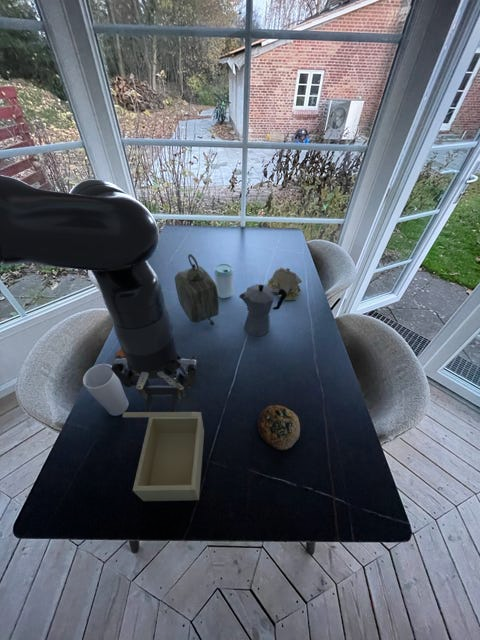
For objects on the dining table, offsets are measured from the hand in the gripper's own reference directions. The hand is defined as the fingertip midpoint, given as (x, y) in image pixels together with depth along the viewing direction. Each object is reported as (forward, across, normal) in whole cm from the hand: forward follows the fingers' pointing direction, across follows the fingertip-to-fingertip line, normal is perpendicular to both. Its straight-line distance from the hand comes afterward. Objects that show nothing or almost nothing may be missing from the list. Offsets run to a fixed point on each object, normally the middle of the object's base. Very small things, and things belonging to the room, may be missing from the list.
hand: (165, 394), depth 50 cm
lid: (+5, 0, -2) cm, 5 cm away
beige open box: (+21, 0, -5) cm, 22 cm away
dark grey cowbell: (+20, +1, +42) cm, 47 cm away
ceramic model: (+19, +33, +59) cm, 70 cm away
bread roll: (+21, +25, +3) cm, 32 cm away
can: (+19, +9, +56) cm, 60 cm away
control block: (+20, -18, +23) cm, 36 cm away
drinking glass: (+21, -17, +8) cm, 28 cm away
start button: (+17, -18, +23) cm, 34 cm away
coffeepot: (+20, +22, +38) cm, 48 cm away
